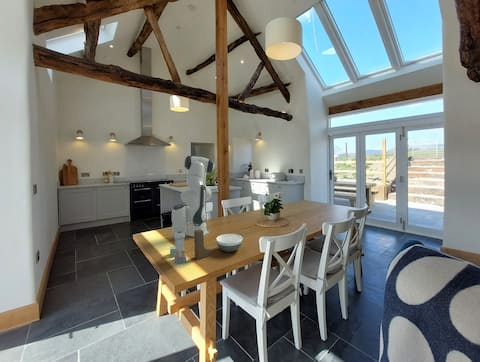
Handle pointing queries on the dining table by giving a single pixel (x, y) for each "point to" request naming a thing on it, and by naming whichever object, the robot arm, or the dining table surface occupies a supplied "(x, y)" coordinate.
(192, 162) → the robot arm
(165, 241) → the dining table surface
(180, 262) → the slate blue block
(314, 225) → the dining table surface
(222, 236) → the bowl
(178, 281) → the dining table surface
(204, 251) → the wooden block
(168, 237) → the dining table surface
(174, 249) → the sage green cube
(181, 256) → the pinkish brown cube
